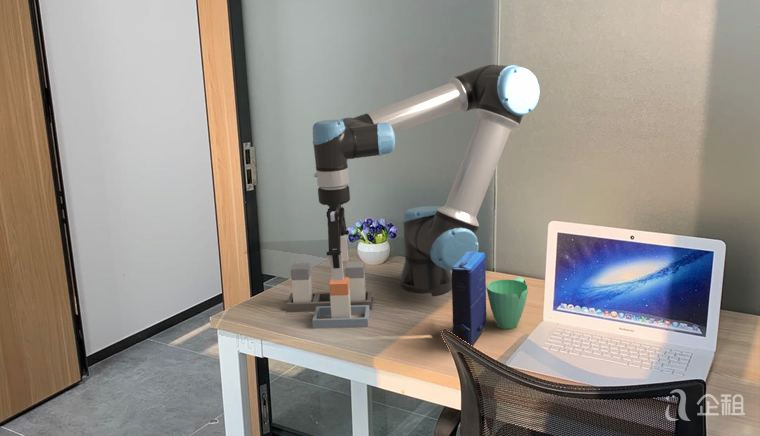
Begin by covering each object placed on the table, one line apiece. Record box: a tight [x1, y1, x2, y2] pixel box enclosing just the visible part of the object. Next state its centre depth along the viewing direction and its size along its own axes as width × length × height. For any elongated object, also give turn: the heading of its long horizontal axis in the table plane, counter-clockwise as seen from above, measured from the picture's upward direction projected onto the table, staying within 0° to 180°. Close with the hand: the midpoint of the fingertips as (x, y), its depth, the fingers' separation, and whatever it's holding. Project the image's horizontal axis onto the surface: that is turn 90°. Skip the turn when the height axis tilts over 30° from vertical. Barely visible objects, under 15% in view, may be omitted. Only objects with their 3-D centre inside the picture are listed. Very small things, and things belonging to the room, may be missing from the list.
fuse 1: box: [290, 262, 313, 303], centre depth 181 cm, size 4×4×11 cm
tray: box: [311, 305, 371, 329], centre depth 172 cm, size 14×9×3 cm, turn 88°
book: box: [451, 251, 487, 347], centre depth 158 cm, size 14×5×20 cm, turn 157°
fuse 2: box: [345, 261, 367, 301], centre depth 180 cm, size 4×4×11 cm
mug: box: [486, 276, 529, 330], centre depth 168 cm, size 15×10×10 cm
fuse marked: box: [328, 276, 352, 319], centre depth 170 cm, size 4×4×11 cm
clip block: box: [285, 290, 374, 313], centre depth 182 cm, size 23×9×3 cm, turn 88°
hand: (340, 269), depth 168 cm, fingers open, 13 cm apart
